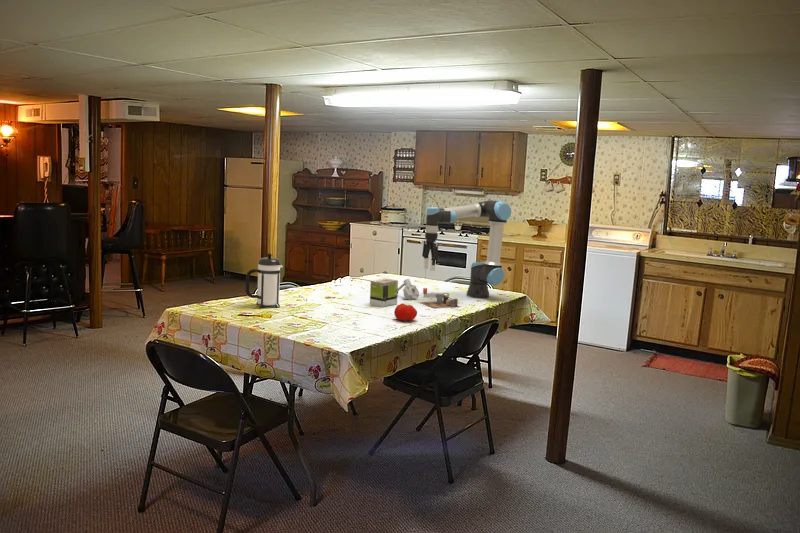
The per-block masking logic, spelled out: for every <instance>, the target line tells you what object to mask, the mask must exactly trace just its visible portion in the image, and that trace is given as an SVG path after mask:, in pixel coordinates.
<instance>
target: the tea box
mask: <svg viewBox="0 0 800 533" xmlns="http://www.w3.org/2000/svg"><path fill="white" fill-rule="evenodd" d="M369 285H370V286H369V287H370V288H369V289H370V291H369V305H370V306H375V307H379V308H383V307H389V306H392V305H398V294H399V291H398V288H399V286H398V285H399V280H397V279H391V278H380V279H375V280H371V281H370V284H369ZM397 293H398V294H397Z"/></svg>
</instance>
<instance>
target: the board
mask: <svg viewBox="0 0 800 533" xmlns="http://www.w3.org/2000/svg"><path fill="white" fill-rule="evenodd" d="M448 299H449V298H443V301H442V303H437V300H435V301H422V302H421V301H418V302H417V303H418V304H420V305H422V306H426V307H429V308H430V309H433V310H434V309H435V310H436V309H450V308H451V309H453V308H461V306H460V305H459V304H458V303H459V302H458V300H459V299H458V298H452V299H451V298H450V299H451V305H450V306H448V305H447V304H446V300H448Z"/></svg>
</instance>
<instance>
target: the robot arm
mask: <svg viewBox="0 0 800 533" xmlns="http://www.w3.org/2000/svg"><path fill="white" fill-rule="evenodd" d="M425 214H426V216H425V219H426V220H425V235H424V238H425V239H426V240H423V243H422V253H421V254H422V255H421V256H422V257H423V260H424V261H423V269H424V270H425V269H426V270H428V269H429V268H430V270H429V271H433V272H435V270H436V260H438V259H439V243H438V242H437V241H436V240H437V239H438V234H439V224H455V222H456V221H457V219H462V218H470V217H476V218H487V219H488V221H487V222H488V223H489V224H490V225H489V226H490V227H489V235H488V245H487V246H488V247H487V253H486V254H487V255H486V261H484V262H482V261H481V262H478V261H475V262H474V261H473V262H472V263H471V266H470V279H469V286H468V288H467V291H466V296H467V297H469V296H470V298H475V297H476V298H477V299H486V298H487V299H489V297H490V292H489V287H488V285H490V286H491V285H492V286H498V285H500V284H501V283H502V282H503V281H504V278H505V271H504V270H503V265H502V262H501V254H502V247H503V246H502V244H503V239H504V238H503V234H504V226H505V225H506V224H507V222H508V221H507V220H508V219H510V217H511V214H512V209H511V206H510V204H509V203H507V201H506V202H505V201H503V200H493V199H488V200H484V201H477V202H474V203H473V204H468V205H459V206H451V207H442V208H440V207H438V206H428V207H427V209H426V213H425ZM429 255H431V259H430V258H429ZM429 261H430V267H429ZM476 298H475V299H476Z"/></svg>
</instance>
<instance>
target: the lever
mask: <svg viewBox="0 0 800 533" xmlns="http://www.w3.org/2000/svg"><path fill="white" fill-rule="evenodd" d="M422 294H423V298H425V299H429V298H430V299H436V301H437V303H442V301H443V298H448V299H450V297H451V295H450V293H448V292H442V293H440V292H438V293H437V292H435V293H432V292H429V293H428V287H424V288H422Z"/></svg>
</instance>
